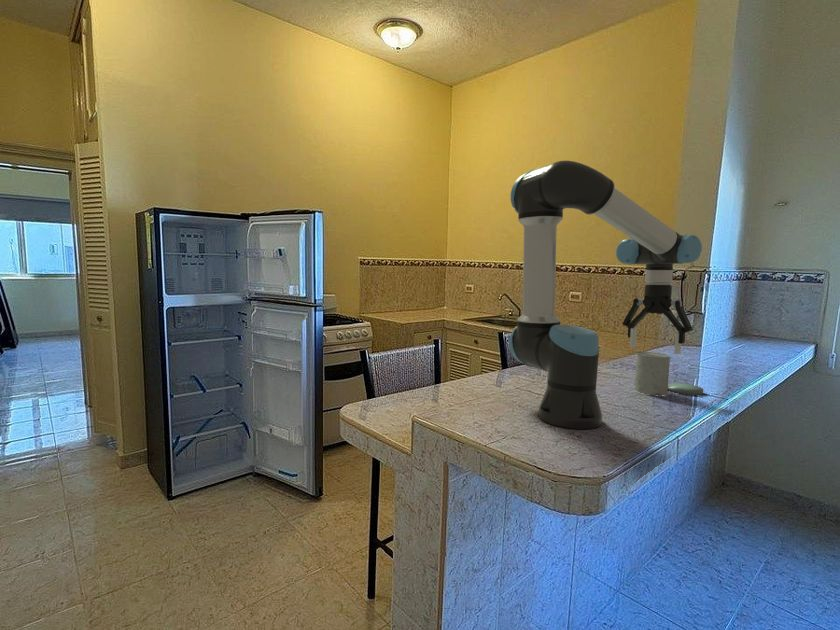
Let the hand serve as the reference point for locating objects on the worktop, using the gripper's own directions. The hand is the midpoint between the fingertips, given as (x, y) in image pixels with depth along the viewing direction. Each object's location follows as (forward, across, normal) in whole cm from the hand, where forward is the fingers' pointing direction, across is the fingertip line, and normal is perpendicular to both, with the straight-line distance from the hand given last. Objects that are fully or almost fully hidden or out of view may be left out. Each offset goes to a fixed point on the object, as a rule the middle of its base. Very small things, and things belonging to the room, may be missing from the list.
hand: (654, 350), depth 139 cm
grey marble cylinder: (+14, 0, 0) cm, 14 cm away
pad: (+14, -6, -10) cm, 18 cm away
